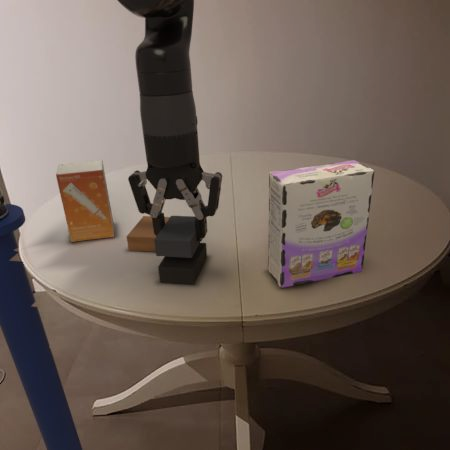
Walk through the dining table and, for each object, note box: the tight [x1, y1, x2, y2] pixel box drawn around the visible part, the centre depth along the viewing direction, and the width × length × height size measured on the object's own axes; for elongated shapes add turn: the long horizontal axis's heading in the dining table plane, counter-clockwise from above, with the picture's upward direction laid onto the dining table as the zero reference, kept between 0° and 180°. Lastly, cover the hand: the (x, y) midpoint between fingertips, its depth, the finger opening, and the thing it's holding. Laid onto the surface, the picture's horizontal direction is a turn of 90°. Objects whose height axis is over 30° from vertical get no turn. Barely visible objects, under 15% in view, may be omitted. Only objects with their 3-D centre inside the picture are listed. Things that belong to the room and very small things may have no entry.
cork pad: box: [126, 215, 171, 253], centre depth 86 cm, size 9×6×3 cm, turn 169°
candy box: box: [267, 159, 375, 289], centre depth 70 cm, size 14×6×16 cm, turn 106°
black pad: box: [157, 242, 208, 286], centre depth 76 cm, size 9×6×3 cm, turn 169°
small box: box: [55, 159, 115, 243], centre depth 86 cm, size 8×6×13 cm
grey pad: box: [154, 215, 201, 258], centre depth 73 cm, size 9×6×3 cm, turn 169°
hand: (181, 238), depth 73 cm, fingers closed on grey pad, 5 cm apart
